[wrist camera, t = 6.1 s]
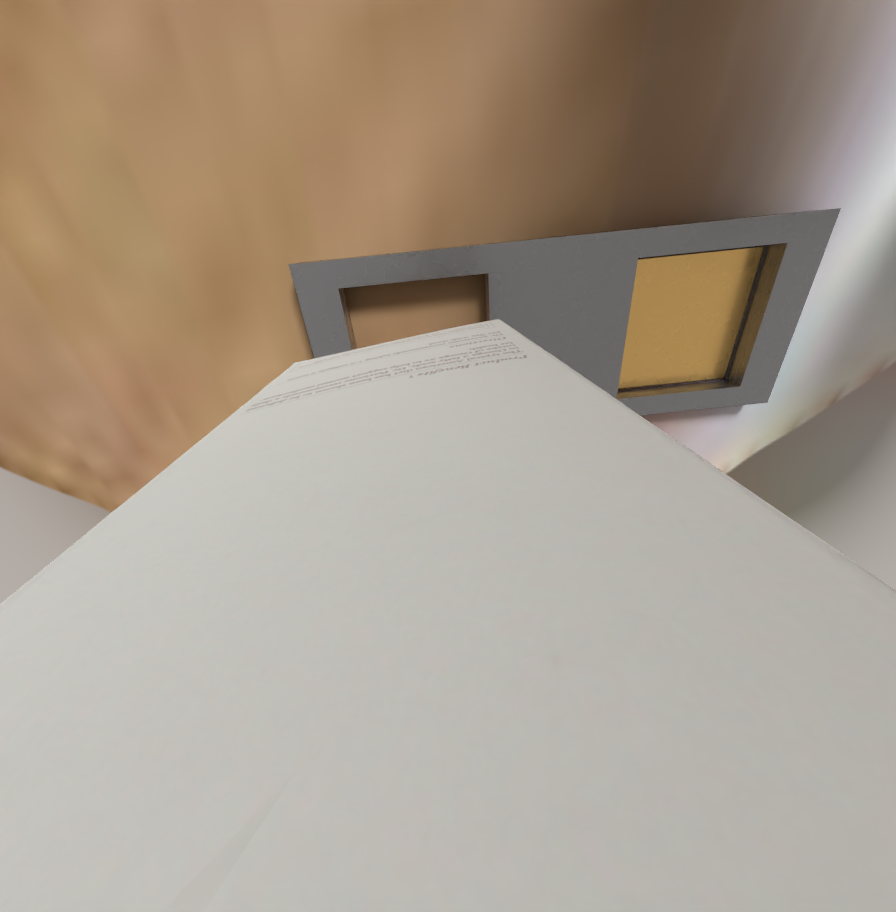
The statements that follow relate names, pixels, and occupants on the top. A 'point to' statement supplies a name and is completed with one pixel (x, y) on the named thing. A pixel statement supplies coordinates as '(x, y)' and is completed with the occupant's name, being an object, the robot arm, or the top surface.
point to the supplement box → (447, 667)
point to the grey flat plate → (621, 302)
